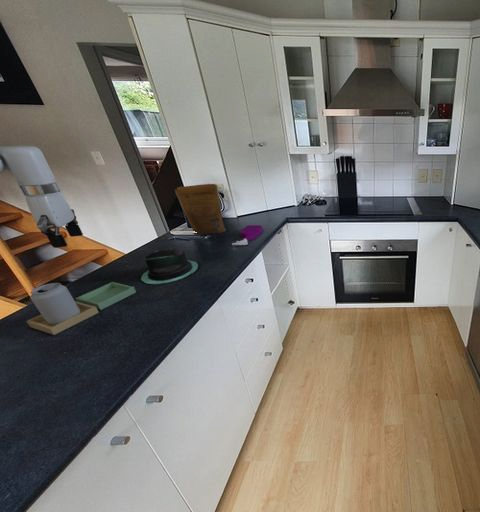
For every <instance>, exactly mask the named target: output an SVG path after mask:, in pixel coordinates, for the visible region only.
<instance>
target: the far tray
mask: <svg viewBox="0 0 480 512" xmlns="http://www.w3.org/2000/svg"><path fill="white" fill-rule="evenodd" d="M135 293H137V291H136V288H135V286H131V285H126V284H123V283H119V282H114V281H111V282H109V283H107V284H105V285H102V286H100V287H98V288H96V289H95V288H94V289H93V290H90V291H89V292H86V293H84V294H82V295H79V296H78V297H75V299H74V300H75V301H76V302H80V303H84V304H87V305H91V306H94V307H96V308H97V310H98V311H102V310H103V309H106V308H108V307H110V306H112V305H114V304H116V303H118V302H120V301H122V300H123V299H126V298H128V297H130V296H132V295H134V294H135Z"/></svg>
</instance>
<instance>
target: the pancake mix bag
mask: <svg viewBox="0 0 480 512" xmlns="http://www.w3.org/2000/svg"><path fill="white" fill-rule="evenodd" d="M174 192H175V195H176V197H177V199H178V201H179V205H180V206H181V208H182V210H183V212H184V214H185V216H186V219H187V221H188V223H189V224H190V227H191V228H192V232H193V231H195V232H197V233H192V234H193V235H195V236H205V235H206V236H207V235H214V234H222V233H224V232H226V231H227V230H226V228H225V225H224V222H223V215H222V210H221V201H220V196H219V189H218V185H217V184H215V183H206V184H205V183H204V184H195V185H186V186H177V187H176V188H175V189H174Z"/></svg>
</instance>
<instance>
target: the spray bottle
mask: <svg viewBox="0 0 480 512" xmlns="http://www.w3.org/2000/svg"><path fill="white" fill-rule="evenodd" d="M263 229H264V227H263V226H262V225H261V224H259V225H258V224H251V225H250V224H249V225H246V226H244V228H242V229H241V231H239V236H240V237H242V238H241V240H236V241H235V242H233V243H231V245H232V246H247V245H248V246H249V243H248V242H250V241H252V240H254V239H256V238H258V236H260V235H261V234H262V232H263Z"/></svg>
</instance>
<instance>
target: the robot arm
mask: <svg viewBox="0 0 480 512" xmlns="http://www.w3.org/2000/svg"><path fill="white" fill-rule="evenodd" d="M6 172H11V174H12V176H13V177H14V179H15V181H16V183H17V185H18V187H19V188H20V190H21V193H23V195H24V197H25V201H26V204H27V207H28V210H29V212H30V214H31V216H32V218H33V221H34V222H35V224H36V228H37V229H38V230H39V231H40V232H41V234H43V235H44V236H45V237H46V238H47V239H48V241H49V244H51V246H52V248H54V249H56V248H65V247H67V246H68V243H67V241H66V239H65V237H64V236H63V234H62V233H60V228H61V227H65V230H66V231H67V233H68V235H69V237H71V238H73V237H82V236H83V235H84V233H83V231H82V229H81V227H80V225H79V222H78V220H77V216H76V213H75V210H74V209H73V208H71V206H70V204H69V203H68V201H67V199H66V198H65V196H64V195H63V191H62V189H61V187H60V185H59V183H58V182H57V180H56V177H55V175H54V173H53V171H52V169H51V167H50V166H49V164H48V161H47V159H46V157H45V155H44V153H43V152H42V150H41V149H40V148H39V147H37V146H35V145H8V146H7V145H6V146H0V174H2V173H6Z"/></svg>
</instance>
